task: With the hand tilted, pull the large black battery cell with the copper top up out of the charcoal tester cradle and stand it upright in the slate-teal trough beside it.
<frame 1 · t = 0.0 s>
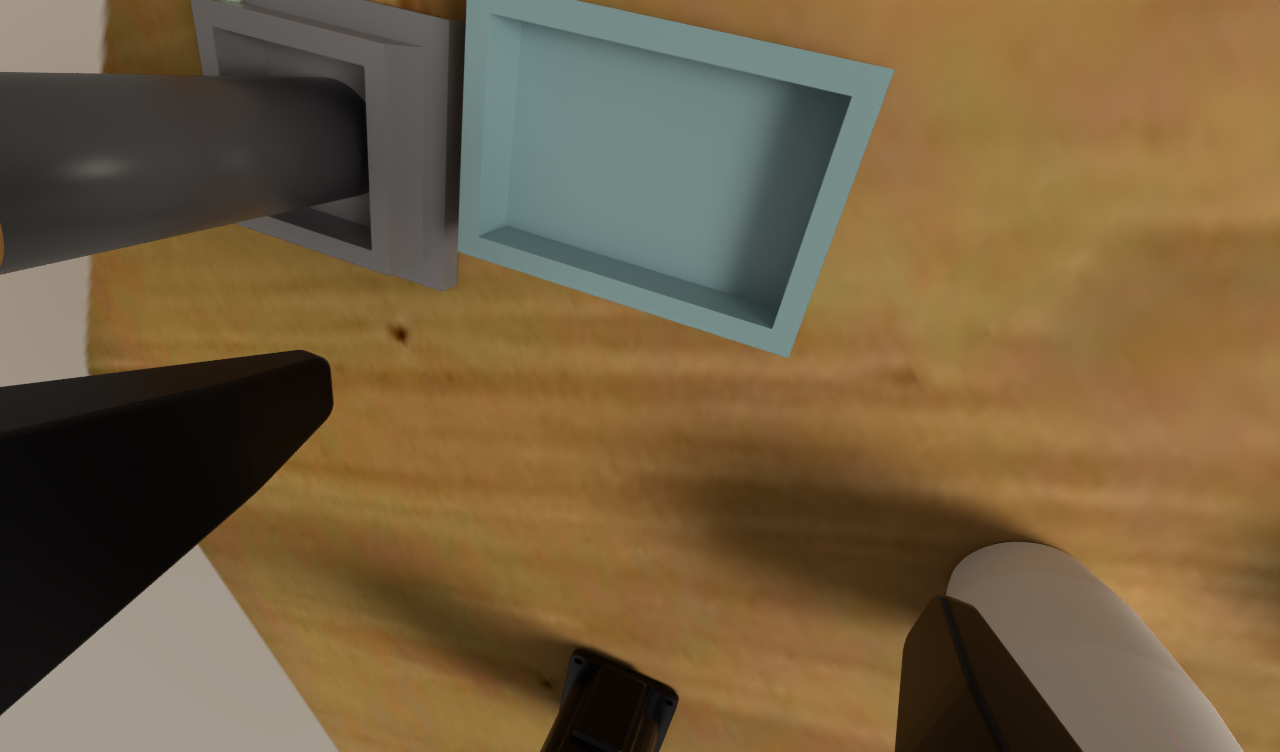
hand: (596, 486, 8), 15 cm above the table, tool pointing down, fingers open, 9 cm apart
cup: (1020, 588, 23), on the table
trough: (660, 167, 20), on the table
cradle: (355, 137, 24), on the table
cell: (337, 139, 23), point 1 cm above the table, touching cradle
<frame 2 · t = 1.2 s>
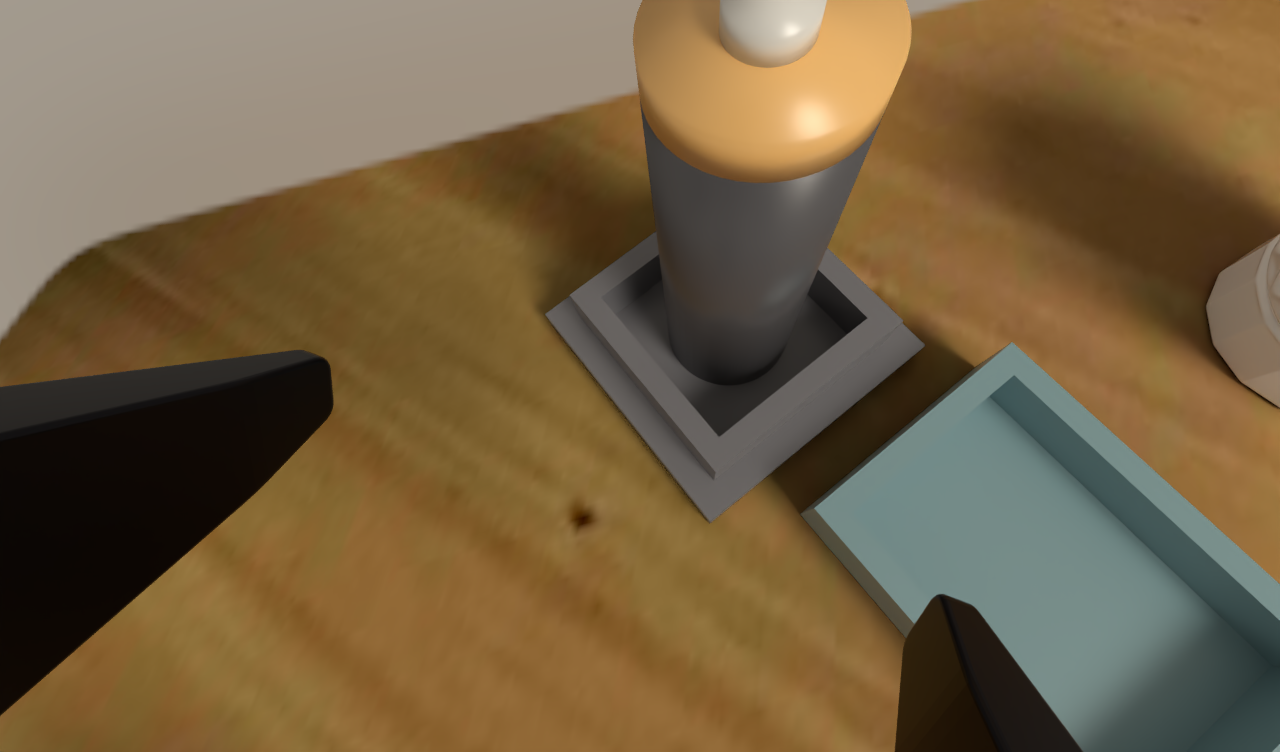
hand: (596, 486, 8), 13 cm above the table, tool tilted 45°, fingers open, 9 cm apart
trough: (1030, 585, 19), on the table
cradle: (726, 338, 23), on the table
cell: (727, 329, 22), point 1 cm above the table, touching cradle
when the fingers open (8 cm above the table, at t = 7.4 s): cell drops 1 cm, resting on trough.
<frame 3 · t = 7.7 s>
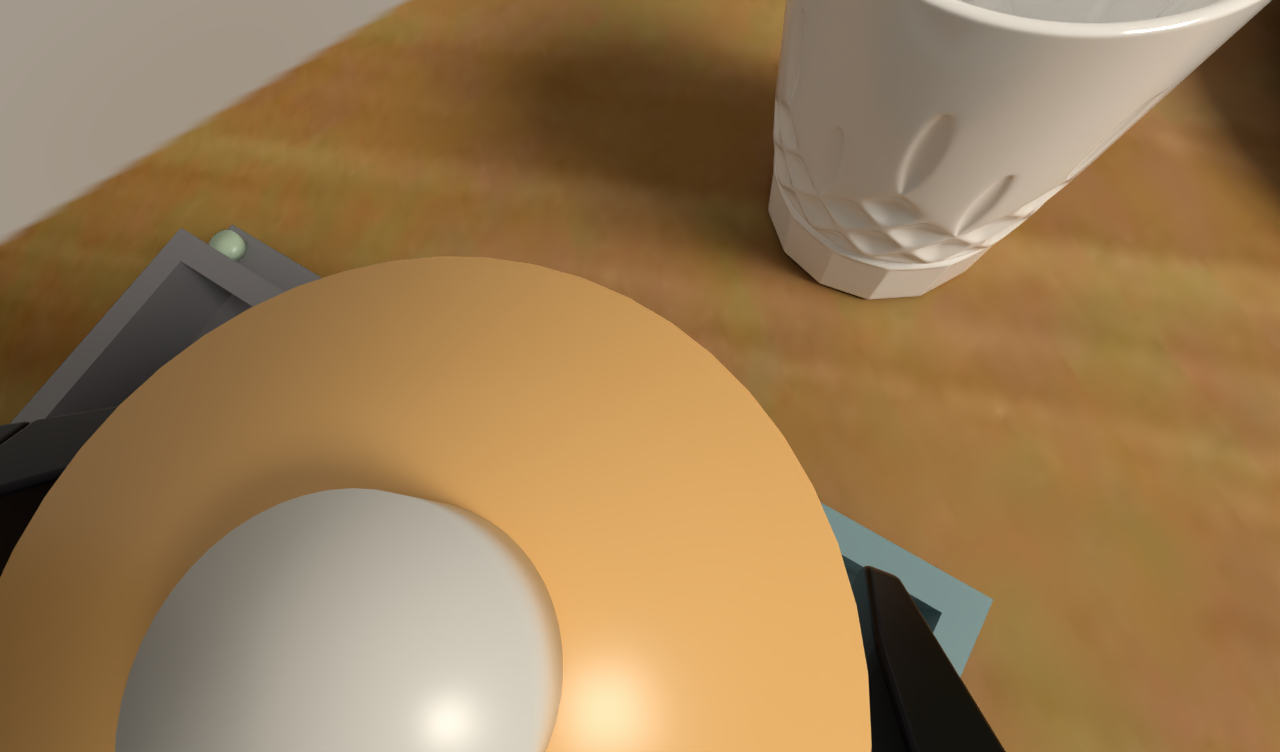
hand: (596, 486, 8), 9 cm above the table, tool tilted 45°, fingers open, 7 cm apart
white cup: (873, 209, 19), on the table
trough: (650, 607, 15), on the table
cradle: (261, 432, 18), on the table
cell: (624, 572, 15), point 1 cm above the table, touching trough
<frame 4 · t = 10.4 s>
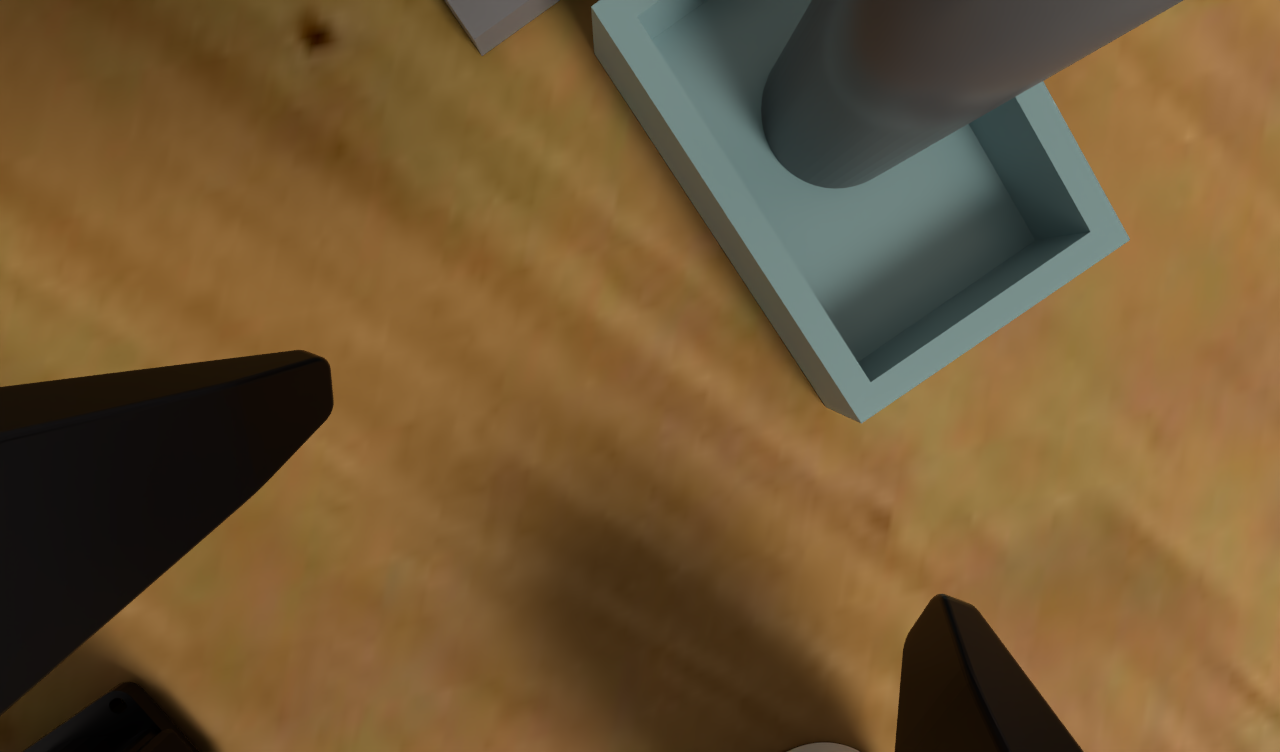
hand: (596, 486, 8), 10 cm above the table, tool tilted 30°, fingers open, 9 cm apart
trough: (833, 155, 17), on the table
cell: (837, 109, 16), point 1 cm above the table, touching trough
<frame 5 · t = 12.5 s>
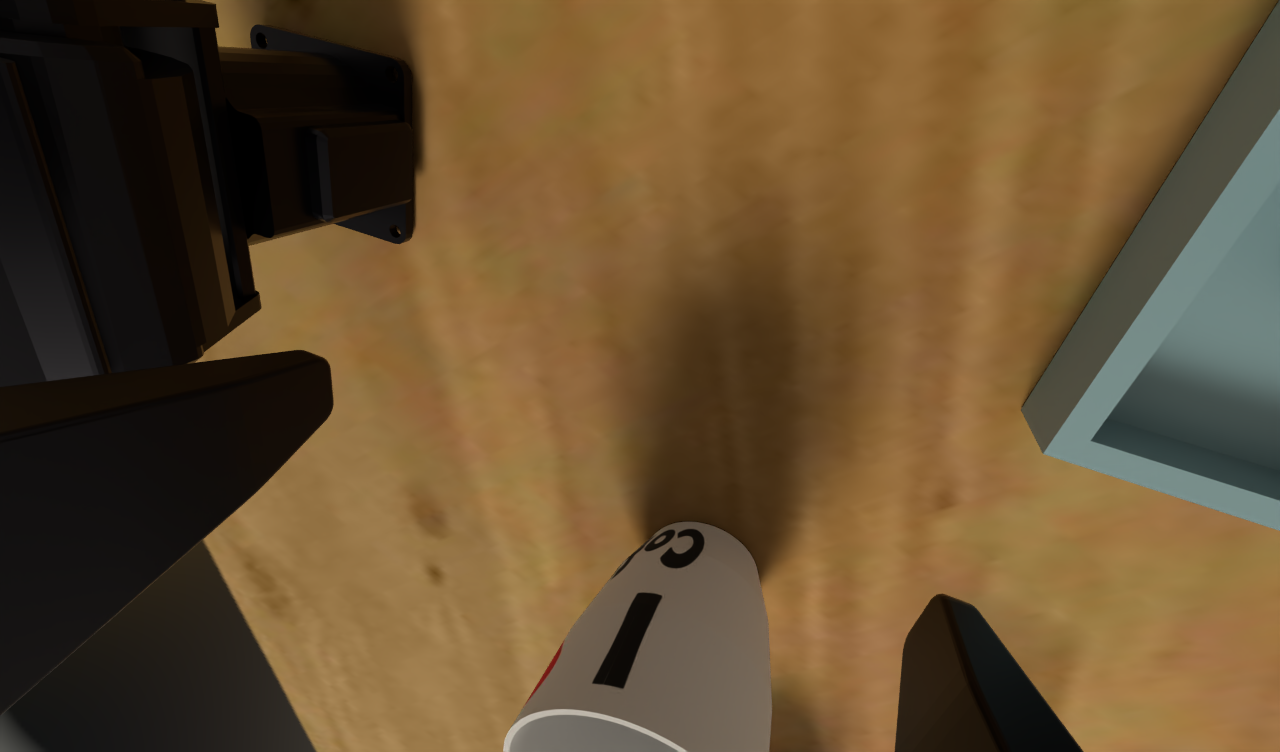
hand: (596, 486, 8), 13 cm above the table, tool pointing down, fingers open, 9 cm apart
cup: (702, 564, 26), on the table
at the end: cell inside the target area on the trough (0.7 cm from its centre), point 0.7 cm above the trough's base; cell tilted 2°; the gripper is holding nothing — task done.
